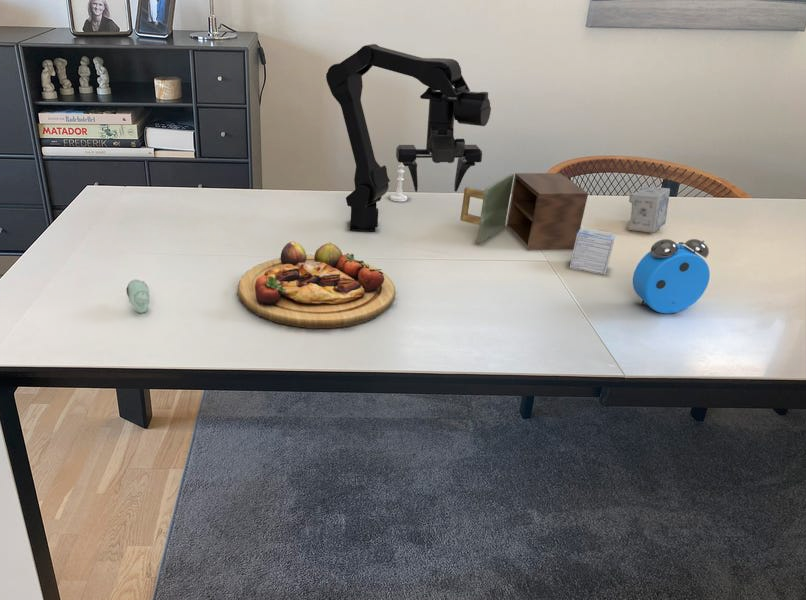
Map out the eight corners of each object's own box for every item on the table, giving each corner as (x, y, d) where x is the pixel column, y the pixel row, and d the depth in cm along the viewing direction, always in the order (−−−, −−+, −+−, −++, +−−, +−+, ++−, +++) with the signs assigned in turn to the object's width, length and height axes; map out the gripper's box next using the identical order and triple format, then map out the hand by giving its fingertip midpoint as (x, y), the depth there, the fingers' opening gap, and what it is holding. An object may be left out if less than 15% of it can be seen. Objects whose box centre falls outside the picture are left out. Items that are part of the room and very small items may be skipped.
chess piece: (407, 202, 196) (411, 166, 191) (390, 201, 196) (393, 165, 191) (406, 196, 200) (410, 161, 195) (389, 195, 200) (392, 160, 195)
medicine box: (607, 268, 161) (616, 232, 157) (604, 275, 158) (614, 239, 153) (572, 261, 164) (580, 226, 159) (568, 268, 160) (577, 232, 156)
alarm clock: (682, 301, 148) (705, 234, 140) (699, 315, 142) (723, 245, 135) (624, 302, 146) (643, 234, 138) (638, 316, 141) (659, 246, 133)
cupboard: (528, 250, 169) (539, 193, 161) (505, 226, 182) (515, 173, 175) (575, 249, 170) (588, 193, 163) (549, 226, 184) (560, 173, 176)
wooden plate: (275, 346, 125) (275, 304, 121) (216, 276, 149) (214, 240, 145) (425, 313, 138) (429, 274, 134) (348, 254, 162) (350, 220, 158)
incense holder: (633, 219, 191) (643, 182, 185) (664, 227, 186) (675, 189, 181) (620, 229, 184) (630, 190, 179) (652, 237, 180) (663, 197, 174)
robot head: (152, 321, 131) (149, 288, 128) (130, 323, 130) (126, 290, 127) (149, 302, 138) (146, 270, 134) (128, 304, 137) (124, 272, 133)
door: (454, 237, 173) (462, 183, 166) (481, 220, 185) (489, 169, 178) (479, 244, 170) (487, 189, 163) (505, 226, 182) (514, 174, 175)
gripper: (402, 128, 148) (399, 201, 155) (490, 128, 148) (483, 201, 156) (397, 118, 157) (394, 187, 165) (480, 118, 158) (473, 187, 165)
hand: (435, 191), depth 162 cm, fingers open, 9 cm apart
